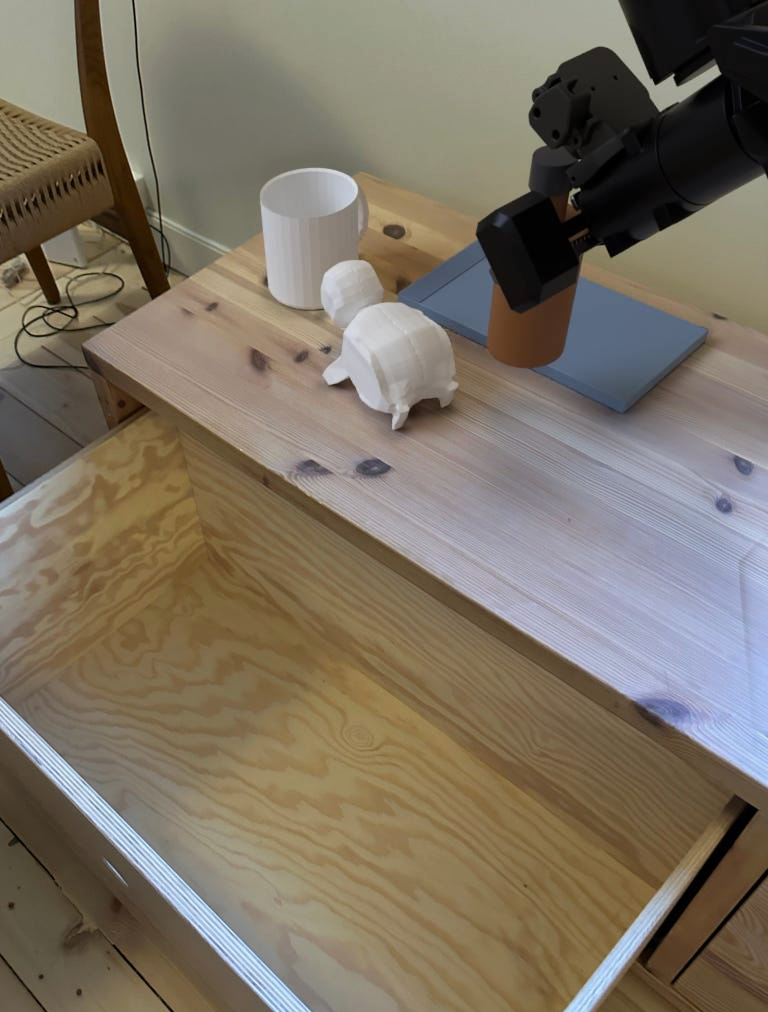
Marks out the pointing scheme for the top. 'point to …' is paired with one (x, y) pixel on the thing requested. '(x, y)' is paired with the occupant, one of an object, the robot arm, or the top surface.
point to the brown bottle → (546, 325)
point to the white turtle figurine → (385, 344)
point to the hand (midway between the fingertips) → (524, 259)
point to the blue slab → (591, 334)
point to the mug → (309, 231)
